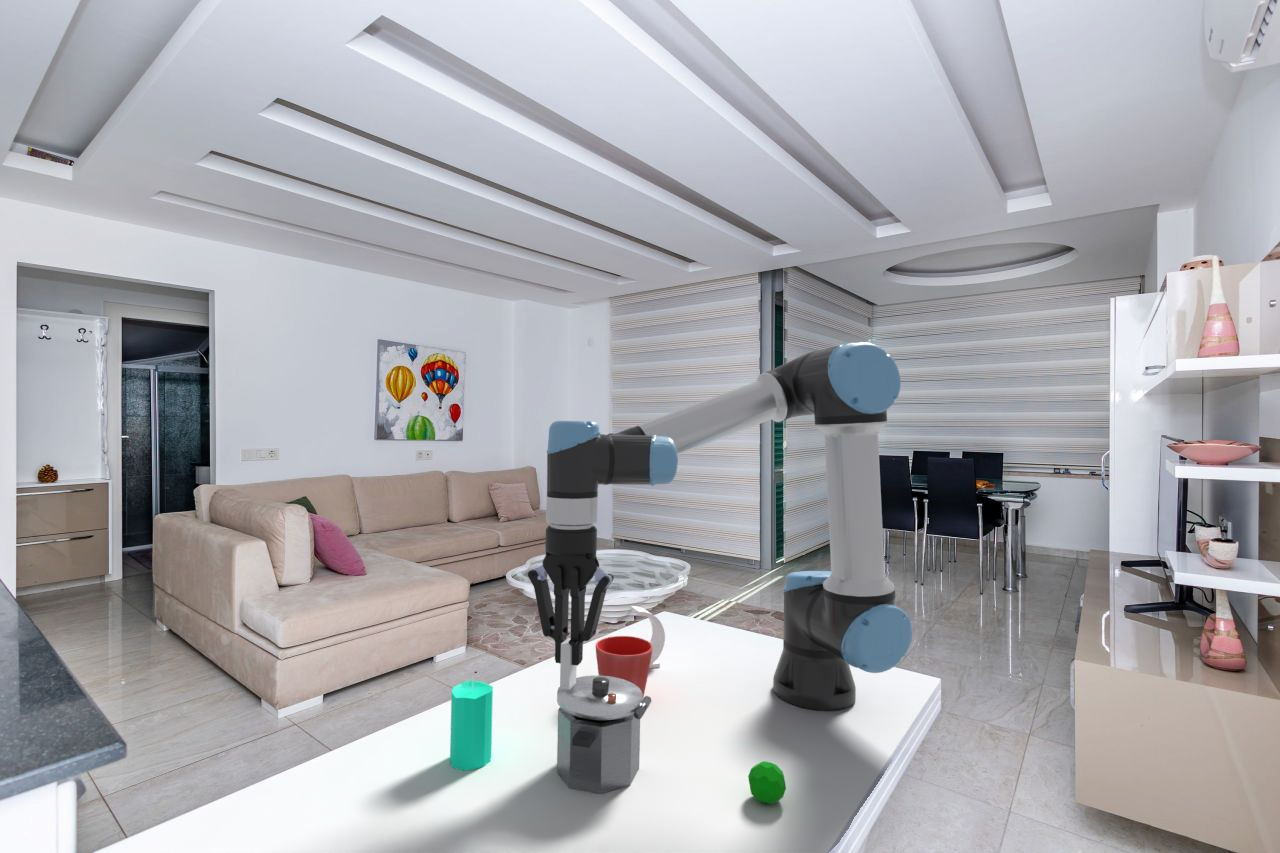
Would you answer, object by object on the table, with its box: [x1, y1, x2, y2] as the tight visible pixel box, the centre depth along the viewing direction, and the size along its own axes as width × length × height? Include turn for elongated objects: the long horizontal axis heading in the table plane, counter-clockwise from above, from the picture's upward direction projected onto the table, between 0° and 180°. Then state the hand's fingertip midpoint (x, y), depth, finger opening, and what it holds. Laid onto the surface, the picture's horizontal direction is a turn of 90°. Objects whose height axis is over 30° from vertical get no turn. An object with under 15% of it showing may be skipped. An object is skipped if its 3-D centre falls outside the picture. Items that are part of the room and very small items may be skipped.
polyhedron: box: [747, 761, 787, 805], centre depth 84 cm, size 5×5×5 cm
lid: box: [556, 675, 652, 720], centre depth 91 cm, size 13×12×3 cm
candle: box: [449, 677, 494, 771], centre depth 93 cm, size 6×6×12 cm
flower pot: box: [595, 635, 653, 698], centre depth 116 cm, size 11×11×10 cm
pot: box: [556, 706, 641, 795], centre depth 91 cm, size 11×15×9 cm
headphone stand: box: [630, 605, 666, 670], centre depth 132 cm, size 5×6×12 cm
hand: (568, 685), depth 92 cm, fingers closed
